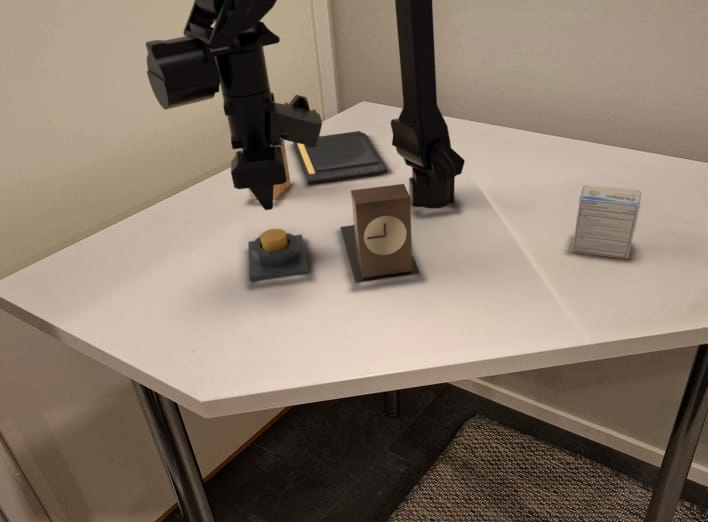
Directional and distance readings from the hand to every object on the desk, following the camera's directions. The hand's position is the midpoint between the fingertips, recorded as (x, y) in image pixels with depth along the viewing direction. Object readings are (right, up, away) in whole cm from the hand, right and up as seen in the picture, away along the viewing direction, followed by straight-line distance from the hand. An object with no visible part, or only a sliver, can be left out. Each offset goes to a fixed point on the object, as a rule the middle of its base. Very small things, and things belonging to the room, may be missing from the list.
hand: (268, 208), depth 85 cm
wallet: (+6, +18, +34) cm, 39 cm away
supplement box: (-4, +8, +24) cm, 26 cm away
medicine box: (+47, -5, +6) cm, 47 cm away
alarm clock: (+15, -2, 0) cm, 15 cm away
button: (0, -4, +4) cm, 6 cm away
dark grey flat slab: (+15, -5, +7) cm, 17 cm away
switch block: (0, -7, +6) cm, 9 cm away
